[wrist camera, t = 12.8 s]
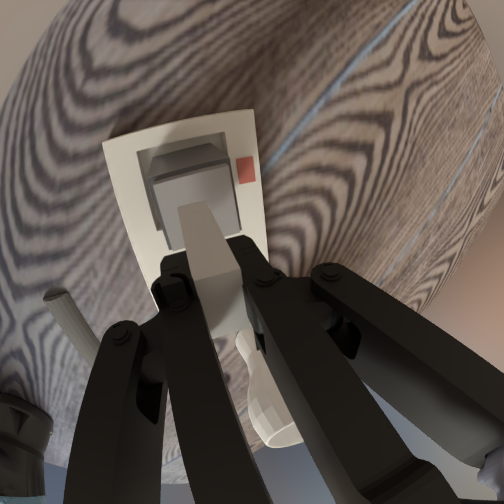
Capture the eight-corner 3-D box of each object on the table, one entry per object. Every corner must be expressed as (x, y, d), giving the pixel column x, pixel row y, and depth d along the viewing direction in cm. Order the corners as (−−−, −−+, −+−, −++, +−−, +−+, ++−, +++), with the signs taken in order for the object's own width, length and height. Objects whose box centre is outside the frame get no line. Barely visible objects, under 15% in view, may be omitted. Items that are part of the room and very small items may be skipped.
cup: (225, 312, 32) (267, 424, 20) (304, 300, 35) (366, 389, 23) (224, 365, 37) (256, 457, 25) (291, 351, 40) (334, 431, 28)
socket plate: (166, 317, 30) (167, 331, 28) (107, 139, 19) (101, 142, 17) (265, 289, 32) (272, 302, 30) (245, 109, 21) (253, 109, 19)
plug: (166, 210, 23) (169, 256, 17) (152, 157, 20) (146, 182, 14) (220, 196, 24) (245, 235, 18) (210, 142, 21) (232, 159, 15)
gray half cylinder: (111, 387, 34) (111, 397, 33) (42, 294, 24) (37, 303, 22) (134, 384, 35) (135, 393, 33) (69, 286, 24) (65, 296, 23)
